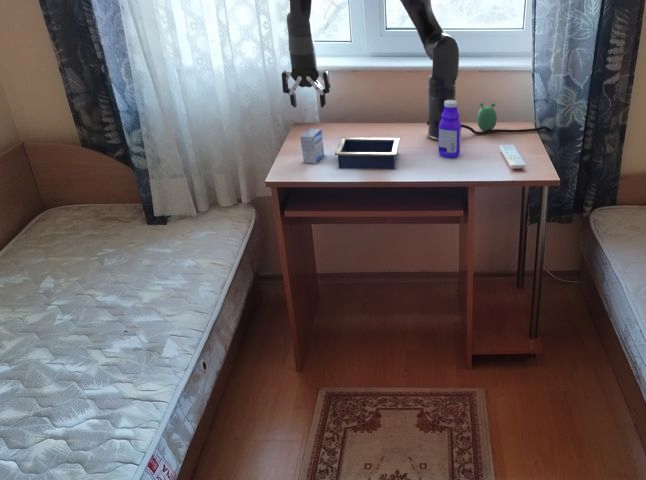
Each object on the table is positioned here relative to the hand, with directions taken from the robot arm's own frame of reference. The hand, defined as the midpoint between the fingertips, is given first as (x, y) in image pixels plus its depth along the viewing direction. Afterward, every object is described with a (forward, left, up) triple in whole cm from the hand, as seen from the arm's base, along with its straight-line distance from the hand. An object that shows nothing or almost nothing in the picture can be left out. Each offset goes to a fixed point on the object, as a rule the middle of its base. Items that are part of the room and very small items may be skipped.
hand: (308, 106), depth 206 cm
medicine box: (0, 0, -17) cm, 17 cm away
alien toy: (-57, -31, -17) cm, 67 cm away
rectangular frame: (-18, +1, -17) cm, 24 cm away
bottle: (-44, -5, -17) cm, 47 cm away
